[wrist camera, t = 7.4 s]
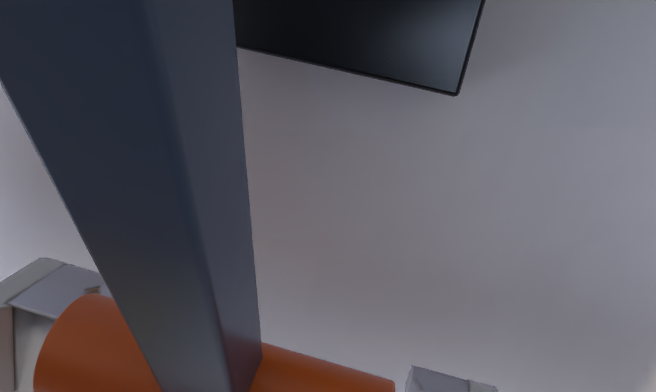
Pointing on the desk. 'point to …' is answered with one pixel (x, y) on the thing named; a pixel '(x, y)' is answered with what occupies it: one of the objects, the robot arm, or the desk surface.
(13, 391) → the robot arm
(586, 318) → the desk surface
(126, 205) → the switch lever
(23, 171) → the desk surface
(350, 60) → the switch bracket
